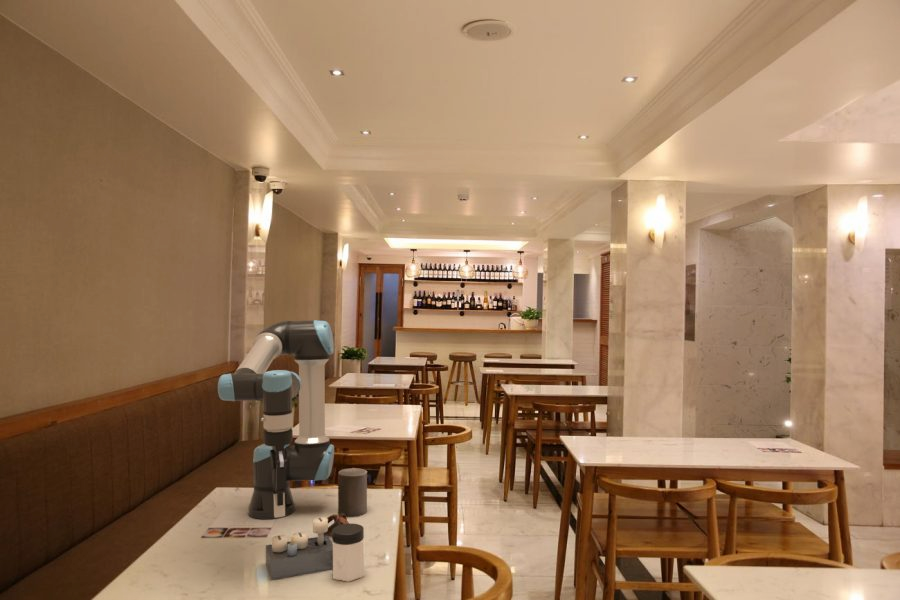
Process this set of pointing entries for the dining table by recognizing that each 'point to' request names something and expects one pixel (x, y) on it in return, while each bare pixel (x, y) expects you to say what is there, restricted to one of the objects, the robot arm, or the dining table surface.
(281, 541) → the knob left
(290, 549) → the potentiometer
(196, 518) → the dining table surface
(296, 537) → the knob middle
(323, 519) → the knob right
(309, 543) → the panel
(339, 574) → the jar
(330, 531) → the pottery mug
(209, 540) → the dining table surface
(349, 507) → the pillar candle
